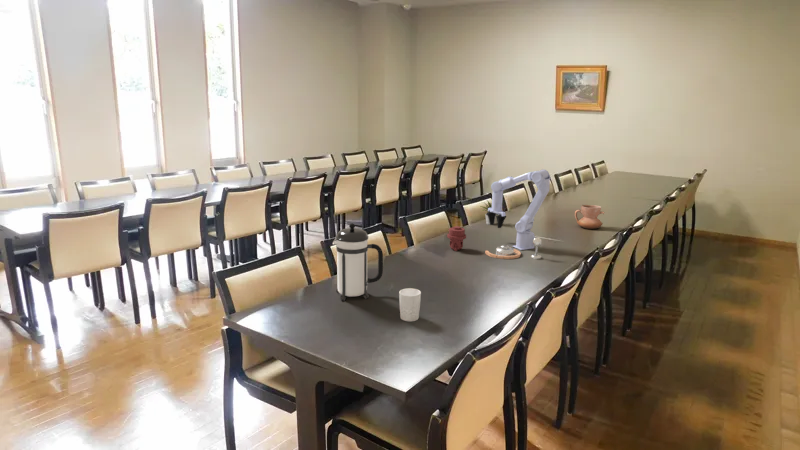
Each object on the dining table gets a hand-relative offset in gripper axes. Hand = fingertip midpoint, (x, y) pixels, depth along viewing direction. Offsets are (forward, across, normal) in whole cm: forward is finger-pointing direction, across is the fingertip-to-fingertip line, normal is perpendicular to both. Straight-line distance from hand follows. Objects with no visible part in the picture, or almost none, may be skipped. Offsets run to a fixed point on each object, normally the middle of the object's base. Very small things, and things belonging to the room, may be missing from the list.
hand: (495, 226), depth 289 cm
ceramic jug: (+10, -10, +78) cm, 79 cm away
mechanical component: (+10, +5, -28) cm, 30 cm away
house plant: (+10, -41, +24) cm, 49 cm away
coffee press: (+10, +48, -100) cm, 112 cm away
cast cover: (+10, +22, -9) cm, 26 cm away
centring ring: (+9, +23, -9) cm, 26 cm away
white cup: (+10, +77, -89) cm, 118 cm away
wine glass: (+9, +33, +3) cm, 34 cm away
